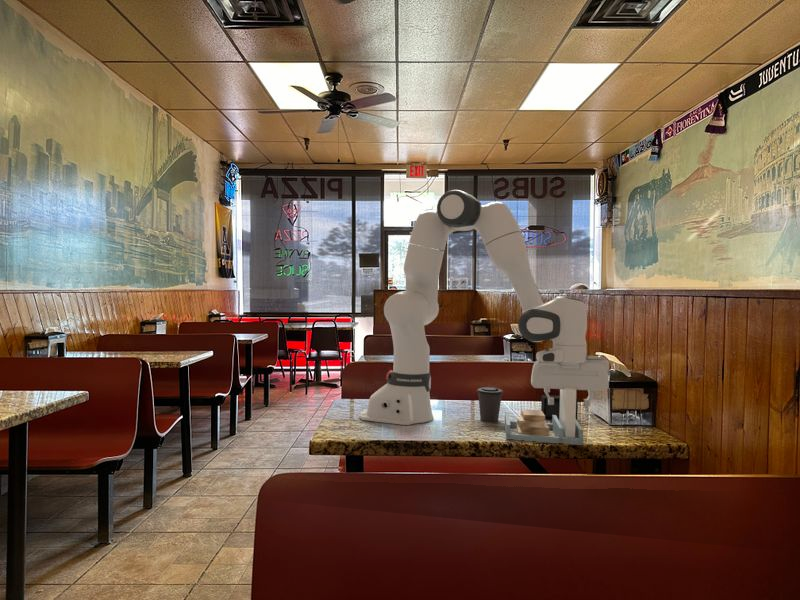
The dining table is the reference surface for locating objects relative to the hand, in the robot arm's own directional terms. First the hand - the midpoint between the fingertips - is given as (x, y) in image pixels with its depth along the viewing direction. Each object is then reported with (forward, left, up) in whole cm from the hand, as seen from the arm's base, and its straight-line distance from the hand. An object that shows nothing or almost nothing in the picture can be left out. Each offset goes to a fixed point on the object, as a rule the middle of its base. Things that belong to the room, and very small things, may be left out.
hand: (568, 405), depth 140 cm
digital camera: (0, +21, -9) cm, 22 cm away
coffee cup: (-21, +13, -9) cm, 26 cm away
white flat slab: (0, 0, -9) cm, 9 cm away
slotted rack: (-7, 0, -9) cm, 11 cm away
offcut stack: (-10, 0, -9) cm, 13 cm away
